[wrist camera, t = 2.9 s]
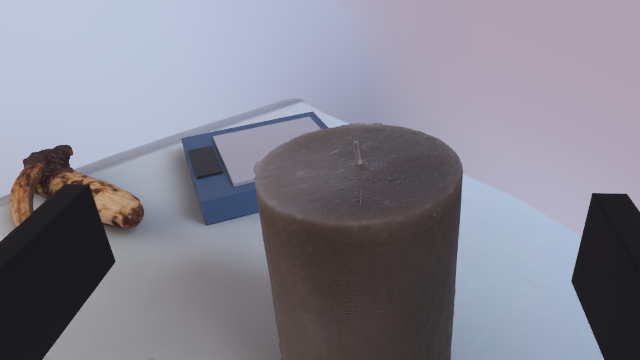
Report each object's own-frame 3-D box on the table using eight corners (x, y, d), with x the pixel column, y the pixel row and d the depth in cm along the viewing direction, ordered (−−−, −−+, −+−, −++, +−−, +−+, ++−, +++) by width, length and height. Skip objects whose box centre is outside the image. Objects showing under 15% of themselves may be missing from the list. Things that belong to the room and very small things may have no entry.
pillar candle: (467, 438, 26) (498, 187, 19) (277, 446, 26) (232, 203, 19) (431, 303, 34) (442, 92, 27) (287, 310, 35) (259, 105, 27)
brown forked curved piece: (-21, 215, 49) (75, 281, 39) (-44, 174, 47) (52, 231, 37) (68, 172, 55) (172, 218, 45) (51, 133, 53) (157, 172, 43)
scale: (314, 131, 60) (312, 107, 58) (363, 186, 48) (362, 159, 47) (186, 158, 56) (180, 134, 54) (206, 225, 44) (199, 197, 43)
